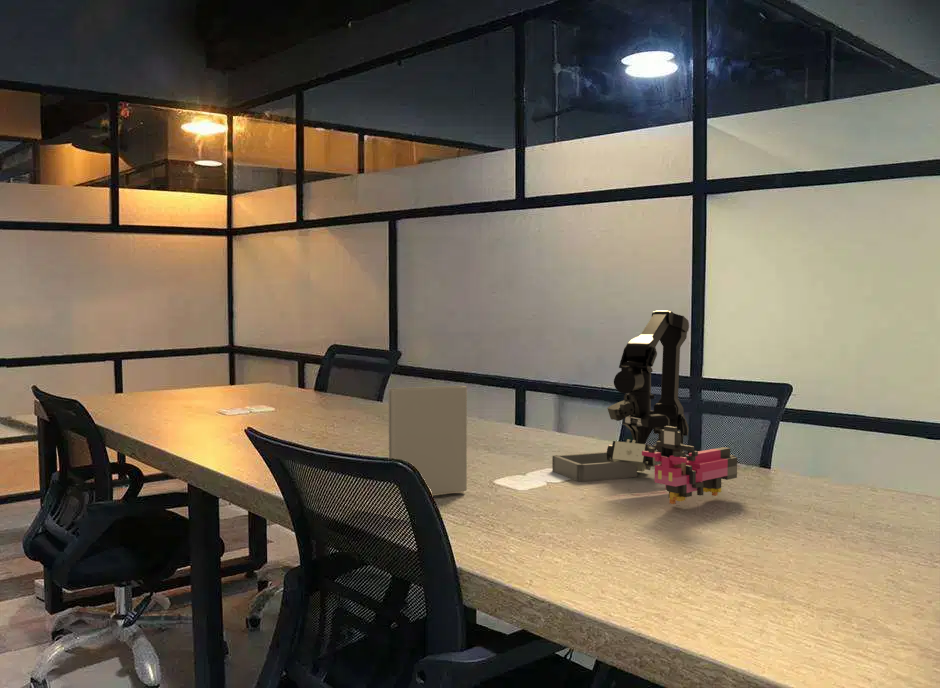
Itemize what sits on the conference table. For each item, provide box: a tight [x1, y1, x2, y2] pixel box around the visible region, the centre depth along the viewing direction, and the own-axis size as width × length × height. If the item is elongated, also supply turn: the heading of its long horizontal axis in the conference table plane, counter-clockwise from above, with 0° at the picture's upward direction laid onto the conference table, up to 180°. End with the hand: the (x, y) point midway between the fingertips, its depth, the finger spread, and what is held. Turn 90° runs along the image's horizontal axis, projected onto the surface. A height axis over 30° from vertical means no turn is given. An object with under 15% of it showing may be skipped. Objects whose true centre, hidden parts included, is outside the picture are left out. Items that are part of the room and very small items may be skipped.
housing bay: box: [551, 451, 638, 483], centre depth 213 cm, size 16×14×4 cm
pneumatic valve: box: [606, 439, 657, 473], centre depth 212 cm, size 6×12×12 cm
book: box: [388, 385, 468, 496], centre depth 191 cm, size 18×4×24 cm, turn 116°
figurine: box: [642, 426, 738, 505], centre depth 186 cm, size 11×25×17 cm, turn 129°
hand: (638, 450), depth 218 cm, fingers closed
